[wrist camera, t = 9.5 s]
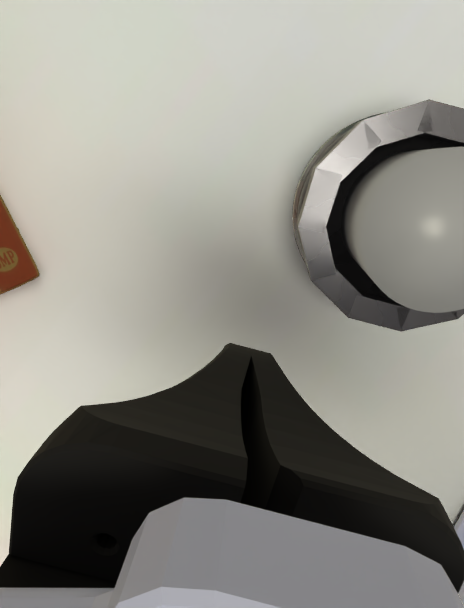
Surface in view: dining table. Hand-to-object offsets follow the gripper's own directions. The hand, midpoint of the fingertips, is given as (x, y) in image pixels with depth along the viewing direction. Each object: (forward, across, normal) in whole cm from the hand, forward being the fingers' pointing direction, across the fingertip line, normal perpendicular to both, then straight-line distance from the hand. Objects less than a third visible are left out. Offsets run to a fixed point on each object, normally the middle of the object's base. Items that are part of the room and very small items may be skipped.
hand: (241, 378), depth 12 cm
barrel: (+10, -5, -5) cm, 13 cm away
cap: (+6, -5, -5) cm, 10 cm away
